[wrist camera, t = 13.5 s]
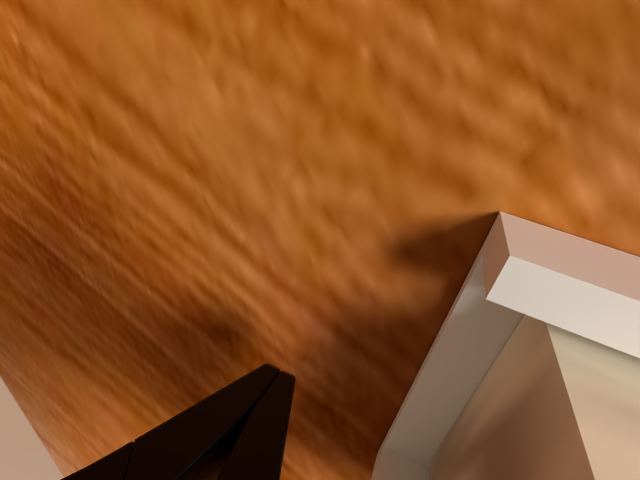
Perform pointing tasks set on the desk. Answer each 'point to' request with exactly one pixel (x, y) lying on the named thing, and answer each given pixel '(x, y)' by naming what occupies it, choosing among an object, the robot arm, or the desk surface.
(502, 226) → the bay
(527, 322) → the pale wooden block
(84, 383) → the desk surface
